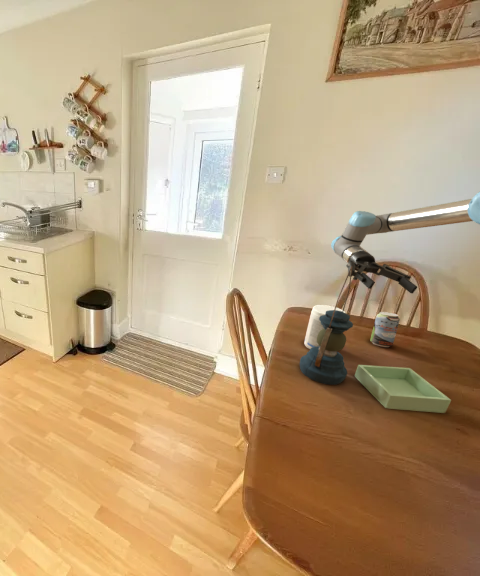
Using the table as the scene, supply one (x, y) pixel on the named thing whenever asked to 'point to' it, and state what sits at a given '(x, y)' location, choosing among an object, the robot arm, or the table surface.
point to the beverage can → (385, 329)
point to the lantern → (328, 347)
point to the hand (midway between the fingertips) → (392, 287)
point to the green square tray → (401, 389)
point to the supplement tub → (316, 324)
